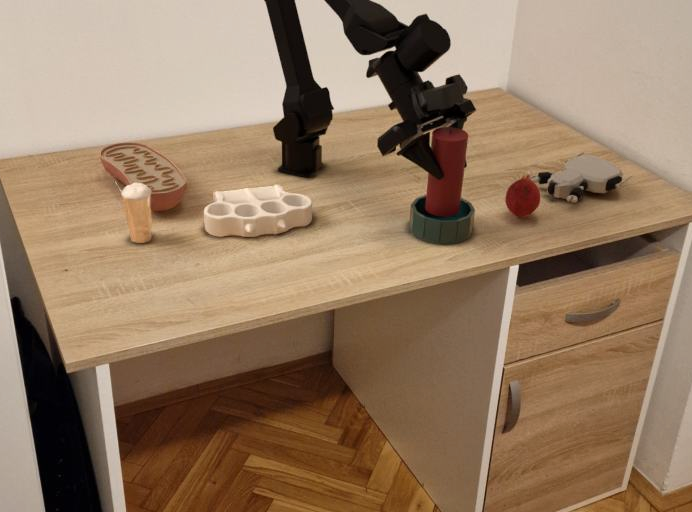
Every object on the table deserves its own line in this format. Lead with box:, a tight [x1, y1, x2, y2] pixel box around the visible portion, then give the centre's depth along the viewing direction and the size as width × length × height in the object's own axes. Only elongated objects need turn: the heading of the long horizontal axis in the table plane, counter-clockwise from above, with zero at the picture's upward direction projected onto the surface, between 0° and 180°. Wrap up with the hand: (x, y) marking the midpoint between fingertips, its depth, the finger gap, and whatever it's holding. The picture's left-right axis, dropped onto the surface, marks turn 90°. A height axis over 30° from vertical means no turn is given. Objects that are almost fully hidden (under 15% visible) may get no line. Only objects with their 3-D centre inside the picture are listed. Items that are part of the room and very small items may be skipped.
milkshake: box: [114, 180, 153, 244], centre depth 146 cm, size 4×5×10 cm
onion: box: [504, 173, 541, 219], centre depth 157 cm, size 6×6×8 cm
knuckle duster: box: [203, 183, 313, 238], centre depth 155 cm, size 3×18×15 cm
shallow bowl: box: [408, 194, 476, 245], centre depth 154 cm, size 10×10×4 cm
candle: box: [425, 127, 469, 217], centre depth 149 cm, size 6×6×14 cm
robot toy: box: [530, 150, 634, 204], centre depth 168 cm, size 12×4×15 cm
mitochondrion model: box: [99, 141, 187, 212], centre depth 162 cm, size 23×10×5 cm, turn 33°
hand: (453, 173), depth 148 cm, fingers closed on candle, 5 cm apart
